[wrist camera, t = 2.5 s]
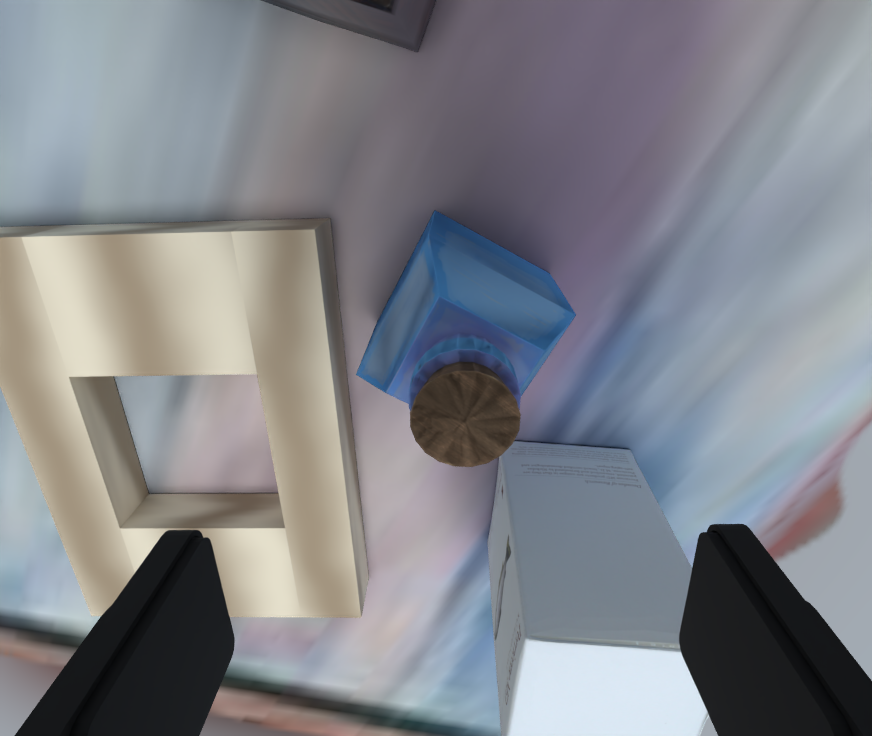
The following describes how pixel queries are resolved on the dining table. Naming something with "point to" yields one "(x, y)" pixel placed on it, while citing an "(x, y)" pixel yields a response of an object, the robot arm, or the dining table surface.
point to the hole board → (187, 355)
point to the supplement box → (587, 598)
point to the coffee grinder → (370, 17)
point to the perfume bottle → (464, 341)
